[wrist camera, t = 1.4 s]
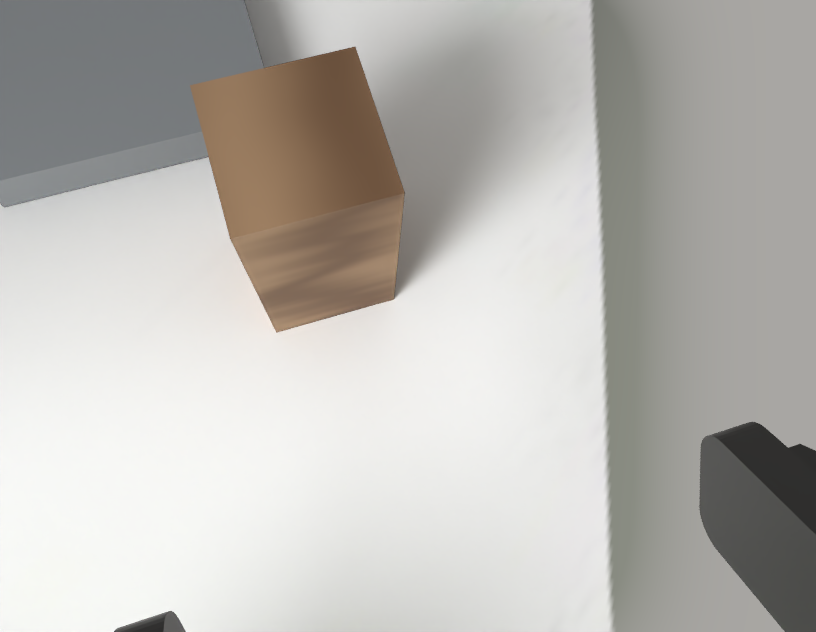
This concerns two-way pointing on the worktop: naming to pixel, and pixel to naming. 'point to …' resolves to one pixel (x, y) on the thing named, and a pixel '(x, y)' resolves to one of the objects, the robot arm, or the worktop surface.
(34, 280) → the worktop surface
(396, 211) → the walnut block
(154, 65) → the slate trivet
